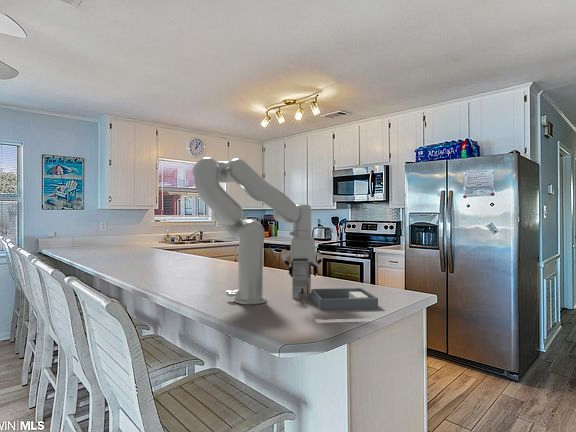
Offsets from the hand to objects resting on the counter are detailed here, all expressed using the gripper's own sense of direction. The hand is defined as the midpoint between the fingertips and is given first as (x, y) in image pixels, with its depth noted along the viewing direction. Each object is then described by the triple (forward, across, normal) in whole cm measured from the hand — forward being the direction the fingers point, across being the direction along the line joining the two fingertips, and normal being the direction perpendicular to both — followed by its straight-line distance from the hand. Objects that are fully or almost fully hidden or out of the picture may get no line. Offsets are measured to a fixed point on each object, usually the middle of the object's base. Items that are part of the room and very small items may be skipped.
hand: (303, 276), depth 150 cm
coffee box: (+9, -1, 0) cm, 9 cm away
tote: (+9, +12, -16) cm, 22 cm away
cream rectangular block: (+8, +18, -16) cm, 26 cm away
